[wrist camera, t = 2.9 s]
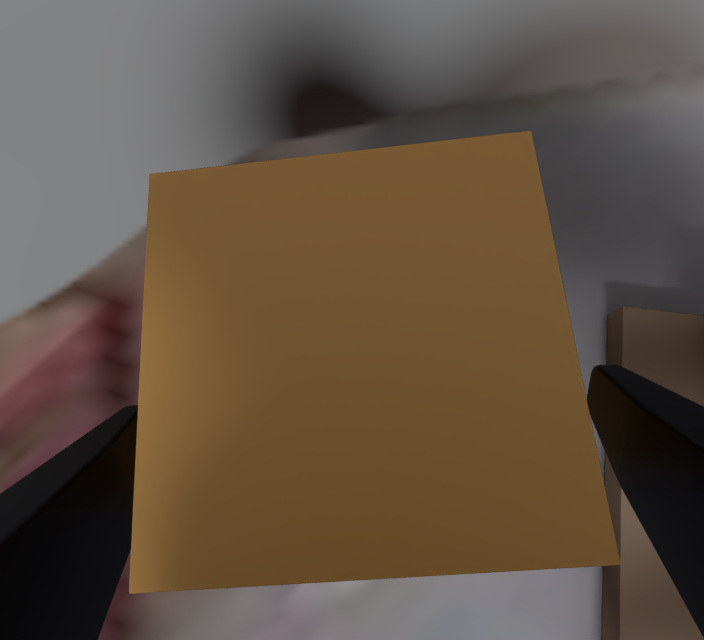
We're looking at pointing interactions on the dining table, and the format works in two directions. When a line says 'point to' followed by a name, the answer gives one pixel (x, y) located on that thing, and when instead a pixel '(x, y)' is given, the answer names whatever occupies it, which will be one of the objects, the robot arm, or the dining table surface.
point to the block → (360, 374)
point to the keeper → (632, 541)
